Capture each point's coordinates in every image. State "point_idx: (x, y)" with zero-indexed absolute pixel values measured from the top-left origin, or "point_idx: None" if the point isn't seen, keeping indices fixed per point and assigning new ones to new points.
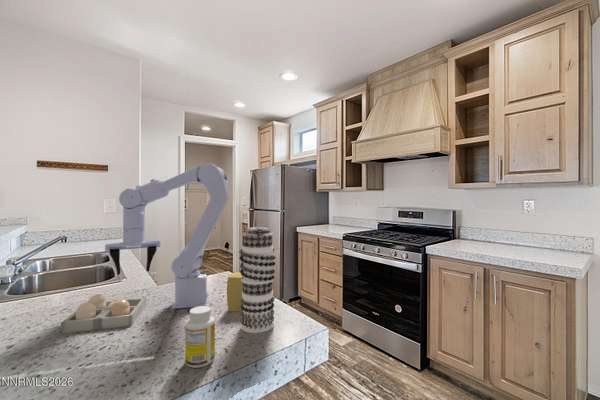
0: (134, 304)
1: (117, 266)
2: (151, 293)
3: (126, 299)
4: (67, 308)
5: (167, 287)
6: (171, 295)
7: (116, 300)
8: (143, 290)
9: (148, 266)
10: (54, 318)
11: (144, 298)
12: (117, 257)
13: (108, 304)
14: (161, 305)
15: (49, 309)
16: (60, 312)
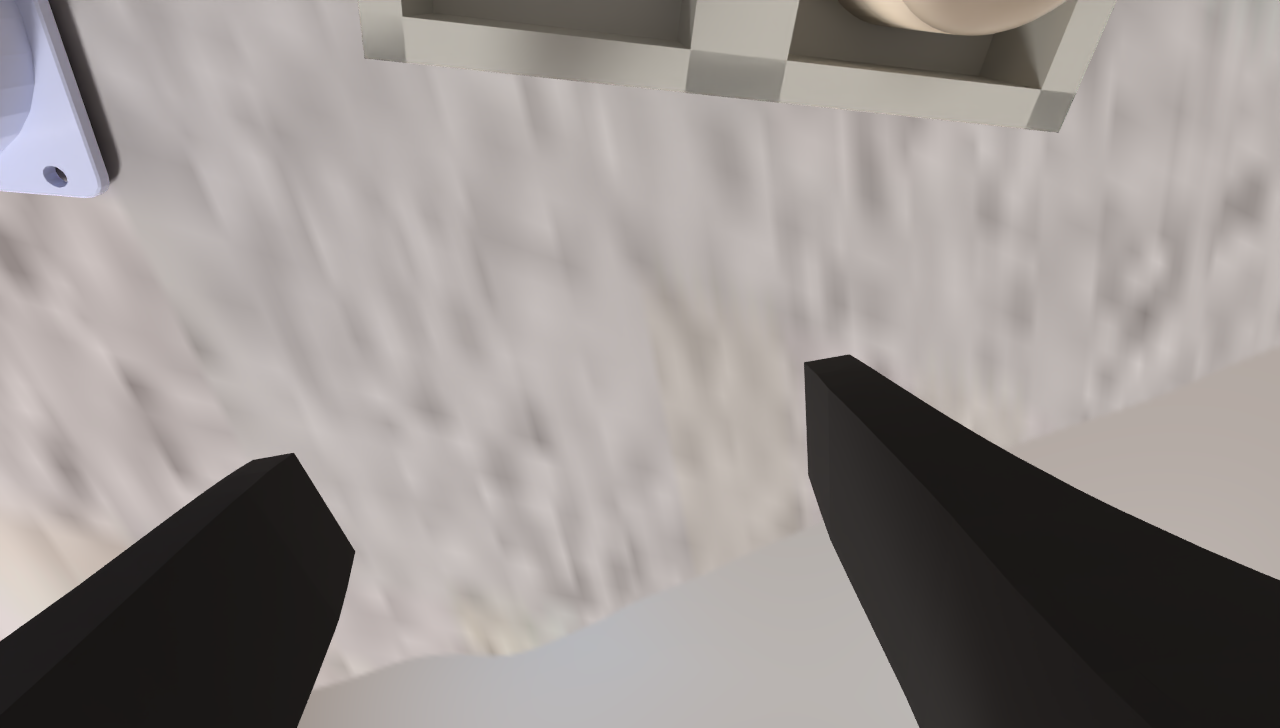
0: (515, 24)
1: (954, 447)
2: (487, 490)
3: (621, 81)
4: (1125, 325)
5: (389, 594)
6: (258, 384)
7: (742, 83)
8: (578, 574)
9: (180, 523)
10: (1259, 71)
11: (373, 29)
12: (1266, 725)
13: (822, 62)
14: (235, 72)
15: (1243, 347)
16: (1187, 237)
